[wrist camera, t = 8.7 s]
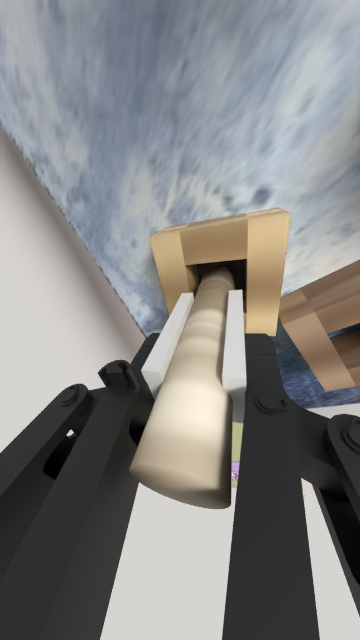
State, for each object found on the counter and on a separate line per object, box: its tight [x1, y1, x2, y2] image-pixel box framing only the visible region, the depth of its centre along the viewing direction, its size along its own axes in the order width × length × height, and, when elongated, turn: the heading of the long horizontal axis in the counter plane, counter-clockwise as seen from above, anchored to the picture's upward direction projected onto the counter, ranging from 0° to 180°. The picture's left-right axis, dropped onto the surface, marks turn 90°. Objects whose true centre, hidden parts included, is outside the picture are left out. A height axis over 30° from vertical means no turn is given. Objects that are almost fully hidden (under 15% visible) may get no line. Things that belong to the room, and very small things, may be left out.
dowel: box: [129, 266, 235, 509], centre depth 11 cm, size 3×3×14 cm
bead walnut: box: [278, 260, 360, 392], centre depth 15 cm, size 9×9×4 cm
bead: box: [149, 208, 291, 336], centre depth 16 cm, size 9×9×4 cm
